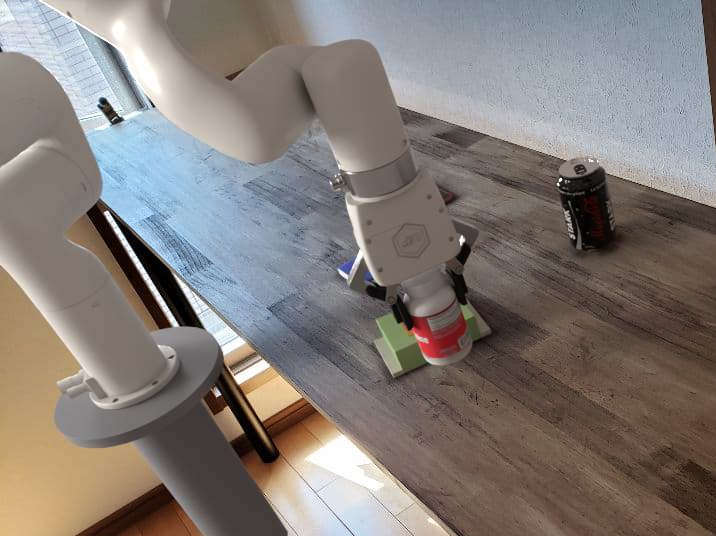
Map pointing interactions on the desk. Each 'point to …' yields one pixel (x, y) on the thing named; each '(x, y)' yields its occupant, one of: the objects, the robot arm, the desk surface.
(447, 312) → the pill bottle
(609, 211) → the beverage can
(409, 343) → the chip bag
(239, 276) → the desk surface
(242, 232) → the desk surface
